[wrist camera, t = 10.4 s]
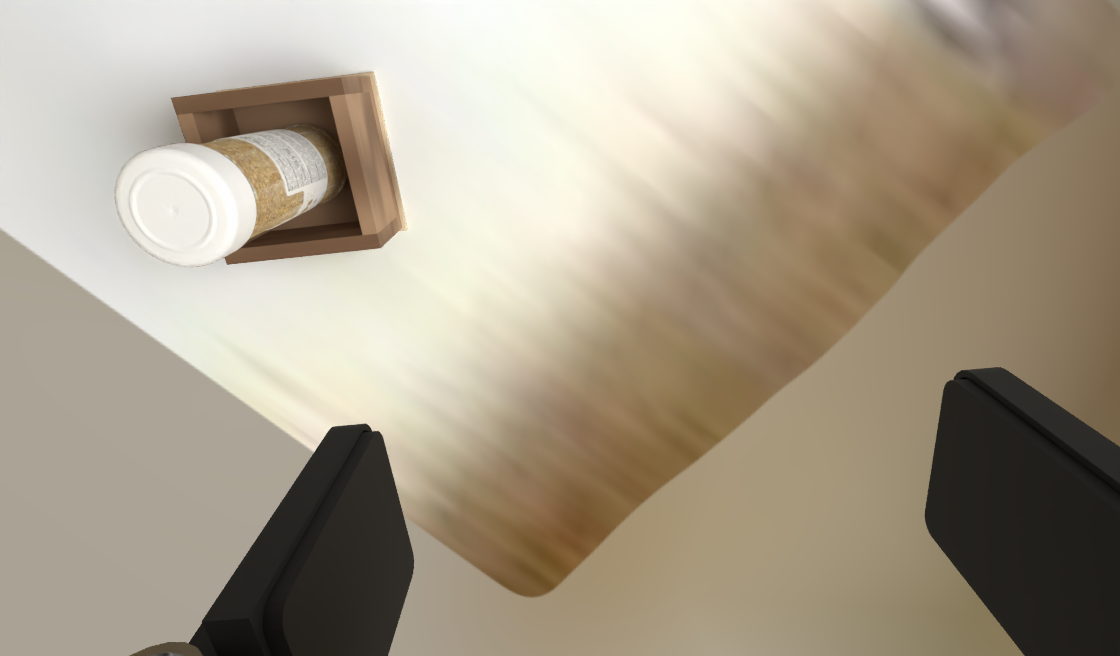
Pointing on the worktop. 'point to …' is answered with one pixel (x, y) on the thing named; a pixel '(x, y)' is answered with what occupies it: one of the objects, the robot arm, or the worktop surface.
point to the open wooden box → (358, 126)
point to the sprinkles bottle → (225, 190)
